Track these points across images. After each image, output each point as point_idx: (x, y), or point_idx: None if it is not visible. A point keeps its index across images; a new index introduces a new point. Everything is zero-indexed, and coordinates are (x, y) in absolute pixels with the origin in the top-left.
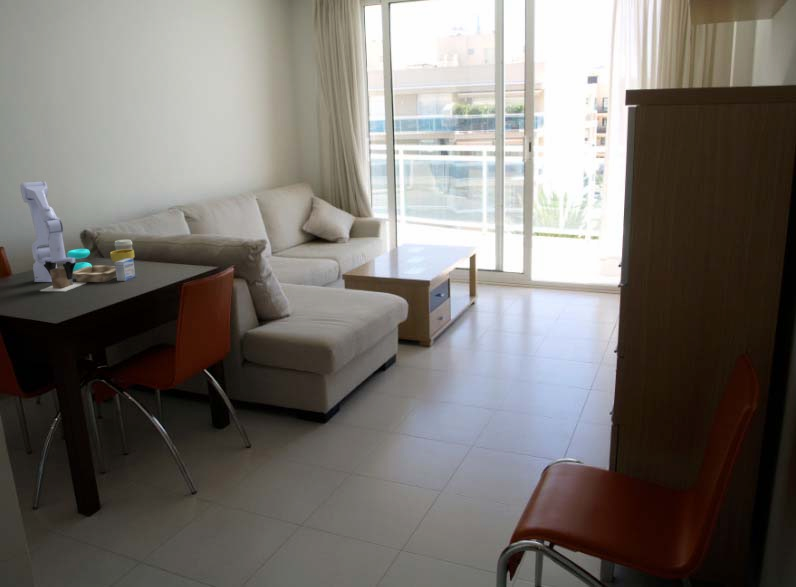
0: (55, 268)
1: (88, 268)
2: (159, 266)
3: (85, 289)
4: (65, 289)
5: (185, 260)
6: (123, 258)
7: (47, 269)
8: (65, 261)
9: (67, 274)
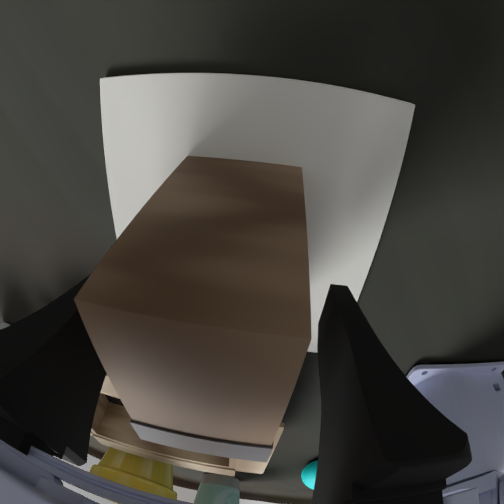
0: (273, 416)
1: (230, 459)
2: (98, 441)
3: (11, 165)
4: (122, 120)
5: (94, 455)
6: (96, 470)
7: (404, 389)
8: (45, 471)
9: (79, 288)
